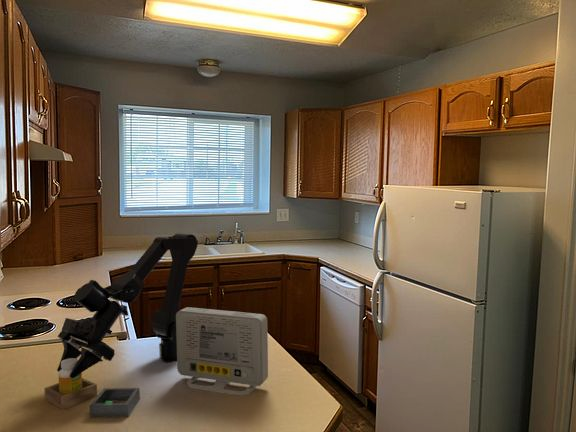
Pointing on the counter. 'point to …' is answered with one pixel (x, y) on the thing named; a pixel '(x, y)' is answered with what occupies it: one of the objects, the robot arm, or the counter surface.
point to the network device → (222, 348)
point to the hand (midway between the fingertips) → (64, 374)
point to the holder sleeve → (70, 394)
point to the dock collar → (107, 408)
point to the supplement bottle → (65, 380)
